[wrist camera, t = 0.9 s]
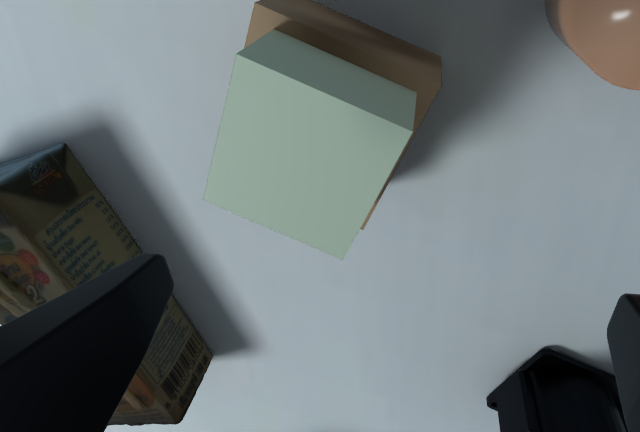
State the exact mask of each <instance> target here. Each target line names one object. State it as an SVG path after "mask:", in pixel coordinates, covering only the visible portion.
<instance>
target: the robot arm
mask: <svg viewBox="0 0 640 432" xmlns="http://www.w3.org/2000/svg"><path fill="white" fill-rule="evenodd" d="M173 285H174V284H173V279H172V276H171V273H170V270H169V268H168V265H167V262H166V259H165V257H164V256H163V255H162V254H160V253H149V252H145V253H142V254H140V255H138V256H136V257H134V258H132V259H130V260H128V261H126V262H124V263H122V264H120V265H118V266H116V267H115V268H113V269H111V270H109V271H107V272H105V273H103V274H101V275H99V276H97V277H95V278H93V279H91V280H89V281H87V282H85V283H84V284H82V285H80V286H78V287H76V288H74V289H72V290H70V291H68V292H66V293H64V294H62V295H60V296H58V297H56V298H54V299H53V300H51V301H49V302H47V303H45V304H43V305H41V306H39V307H37V308H35V309H33V310H31V311H29V312H27V313H25V314H23V315H21V316H20V317H18V318H16V319H14V320H12V321H10V322H8V323H6V324H4V325H2V326H0V432H104V431H105V429H106V427H107V425H108V423H109V422H110V420H111V418H112V416H113V414H114V412H115V410H116V409H117V407H118V405H119V403H120V401H121V399H122V398H123V396H124V394H125V392H126V390H127V388H128V387H129V385H130V383H131V381H132V379H133V377H134V375H135V374H136V372H137V370H138V368H139V366H140V364H141V363H142V361H143V359H144V357H145V355H146V353H147V351H148V349H149V346H150V344H151V342H152V340H153V337H154V335H155V332H156V330H157V328H158V325H159V323H160V321H161V318H162V316H163V313H164V311H165V309H166V306H167V304H168V301H169V299H170V297H171V294H172V291H173ZM607 339H608V344H609V349H610V354H611V358H612V363H613V368H614V372H615V376H613V375H610V374H608V373H606V372H603V371H601V370H599V369H596V368H594V367H591V366H589V365H587V364H584V363H582V362H580V361H577V360H575V359H573V358H570V357H568V356H566V355H563V354H561V353H558V352H556V351H554V350H551V349H543V350H541V351H539V352H538V353H537V354H536V355H535V356H533V357H532V358H531V359H530V360H529V361H528V362H527V363H525V364H524V365H523V366H522V367H521V368H520V369H518V370H517V371H516V372H515V373H514V374H513V375H512V376H510V377H509V378H508V379H507V380H506V381H505V382H504V383H502V384H501V385H500V386H499V387H498V388H497V389H495V390H494V391H493V392H492V393H491V394H490V395H489V396H487V398H486V400H487V406H488V407H489V408H491V409H494V410H496V411H498V416H499V424H500V432H640V294H623V295H622V296H621V297H620V298H619V300H618V302H617V305H616V307H615V309H614V312H613V314H612V317H611V319H610V322H609V324H608V328H607Z"/></svg>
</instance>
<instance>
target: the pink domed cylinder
mask: <svg viewBox="0 0 640 432" xmlns="http://www.w3.org/2000/svg"><path fill="white" fill-rule="evenodd" d="M545 7H546V14H547V18H548V21H549V23H550V26H551V28H552V29H553V31H554V32H555V34H556V35H557V36H558V37H559V38H560V39H561V41H563V42H564V43H565V44H566V45H567V46H568V47H569V48H570V49H571V50H572V51H573V52H574V53H575V54H576V55H577V56H578V57H579V58H580V59H581V60H582V61H583V62H584V63H585V64H586V65H587V66H588V67H589V68H591V69H592V70H593V71H594V72H595V73H596V74H597V75H598V76H600V77H601V78H602V79H604V80H605V81H607V82H609V83H611V84H613V85H616V86H619V87H622V88H626V89H631V90H640V0H545Z"/></svg>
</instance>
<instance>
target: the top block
mask: <svg viewBox="0 0 640 432" xmlns="http://www.w3.org/2000/svg"><path fill="white" fill-rule="evenodd" d="M416 97H417V92H415V91H412V90H410V89H408V88H406V87H403V86H401V85H399V84H397V83H394V82H392V81H390V80H388V79H385V78H383V77H381V76H379V75H376V74H374V73H372V72H370V71H367V70H365V69H363V68H361V67H358V66H356V65H354V64H352V63H349V62H347V61H345V60H343V59H340V58H338V57H336V56H334V55H331V54H329V53H327V52H325V51H322V50H320V49H318V48H316V47H313V46H311V45H309V44H307V43H304V42H302V41H300V40H298V39H295V38H293V37H291V36H289V35H286V34H284V33H282V32H280V31H277V30H275V29H272V30H271V31H269V32H268V33H266V34H265V35H263V36H262V37H260V38H259V39H257V40H256V41H255V42H253V43H252V44H250V45H249V46H247V47H246V48H244V49H243V50H241V51H240V52H238V53H237V54H236V56H235V61H234V65H233V70H232V74H231V78H230V83H229V87H228V92H227V96H226V100H225V105H224V109H223V113H222V118H221V122H220V127H219V131H218V135H217V140H216V144H215V149H214V153H213V157H212V162H211V166H210V170H209V175H208V179H207V184H206V188H205V192H204V197H203V200H204V201H206V202H208V203H211V204H213V205H215V206H218V207H220V208H222V209H225V210H227V211H229V212H232V213H234V214H236V215H239V216H241V217H243V218H246V219H248V220H250V221H253V222H255V223H257V224H260V225H262V226H264V227H267V228H269V229H271V230H273V231H276V232H278V233H280V234H283V235H285V236H287V237H290V238H292V239H294V240H297V241H299V242H301V243H304V244H306V245H308V246H311V247H313V248H315V249H318V250H320V251H322V252H325V253H327V254H329V255H332V256H334V257H336V258H339V259H341V260H343V259H344V257H345V255H346V254H347V252H348V250H349V248H350V246H351V244H352V243H353V241H354V239H355V237H356V235H357V233H358V232H359V230H360V228H361V226H362V224H363V222H364V221H365V219H366V217H367V215H368V213H369V211H370V210H371V208H372V206H373V204H374V202H375V200H376V199H377V197H378V195H379V193H380V191H381V189H382V188H383V186H384V184H385V182H386V180H387V178H388V177H389V175H390V173H391V171H392V169H393V167H394V166H395V164H396V162H397V160H398V158H399V156H400V155H401V153H402V151H403V149H404V147H405V145H406V144H407V142H408V140H409V138H410V136H411V134H412V133H413V126H414V117H415V107H416Z"/></svg>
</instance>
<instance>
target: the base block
mask: <svg viewBox="0 0 640 432" xmlns="http://www.w3.org/2000/svg"><path fill="white" fill-rule="evenodd" d="M272 29H275V30H277V31H280V32H282V33H284V34H286V35H289V36H291V37H293V38H295V39H298V40H300V41H302V42H304V43H307V44H309V45H311V46H313V47H316V48H318V49H320V50H322V51H325V52H327V53H329V54H331V55H334V56H336V57H338V58H340V59H343V60H345V61H347V62H349V63H352V64H354V65H356V66H358V67H361V68H363V69H365V70H367V71H370V72H372V73H374V74H376V75H379V76H381V77H383V78H385V79H388V80H390V81H392V82H394V83H397V84H399V85H401V86H403V87H406V88H408V89H410V90H412V91H415V92H417V97H416V107H415V117H414V126H413V133H412V134H411V136H410V138H409V140H408V142H407V144H406V145H405V147H404V149H403V151H402V153H401V155H400V156H399V158H398V160H397V162H396V164H395V166H394V167H393V169H392V171H391V173H390V175H389V177H388V178H387V180H386V182H385V184H384V186H383V188H382V189H381V191H380V193H379V195H378V197H377V199H376V200H375V202H374V204H373V206H372V208H371V210H370V211H369V213H368V215H367V217H366V219H365V221H364V222H363V224H362V226H361V228H360V229H362V230H363V229H364V227H365V226H366V224H367V222H368V220H369V218H370V216H371V214H372V213H373V211H374V209H375V207H376V205H377V203H378V202H379V200H380V198H381V196H382V194H383V192H384V190H385V189H386V187H387V185H388V183H389V181H390V179H391V178H392V176H393V174H394V172H395V170H396V168H397V166H398V165H399V163H400V161H401V159H402V157H403V155H404V154H405V152H406V150H407V148H408V146H409V144H410V142H411V141H412V139H413V137H414V135H415V133H416V131H417V130H418V128H419V126H420V124H421V122H422V120H423V118H424V117H425V115H426V113H427V111H428V109H429V107H430V105H431V104H432V102H433V100H434V98H435V96H436V94H437V93H438V91H439V89H440V87H441V85H442V76H441V57H439V56H437V55H435V54H432V53H430V52H428V51H426V50H423V49H421V48H419V47H417V46H414V45H412V44H410V43H407V42H405V41H403V40H401V39H398V38H396V37H394V36H391V35H389V34H387V33H385V32H382V31H380V30H378V29H376V28H373V27H371V26H369V25H366V24H364V23H362V22H360V21H357V20H355V19H353V18H351V17H348V16H346V15H344V14H341V13H339V12H337V11H335V10H332V9H330V8H328V7H325V6H323V5H321V4H319V3H316V2H314V1H312V0H260V1H257V2H255V4H254V8H253V12H252V17H251V21H250V25H249V30H248V34H247V38H246V43H245V47H244V48H246V47H247V46H249V45H250V44H252V43H253V42H255V41H256V40H257V39H259V38H260V37H262V36H263V35H265V34H266V33H268V32H269V31H271V30H272Z"/></svg>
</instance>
